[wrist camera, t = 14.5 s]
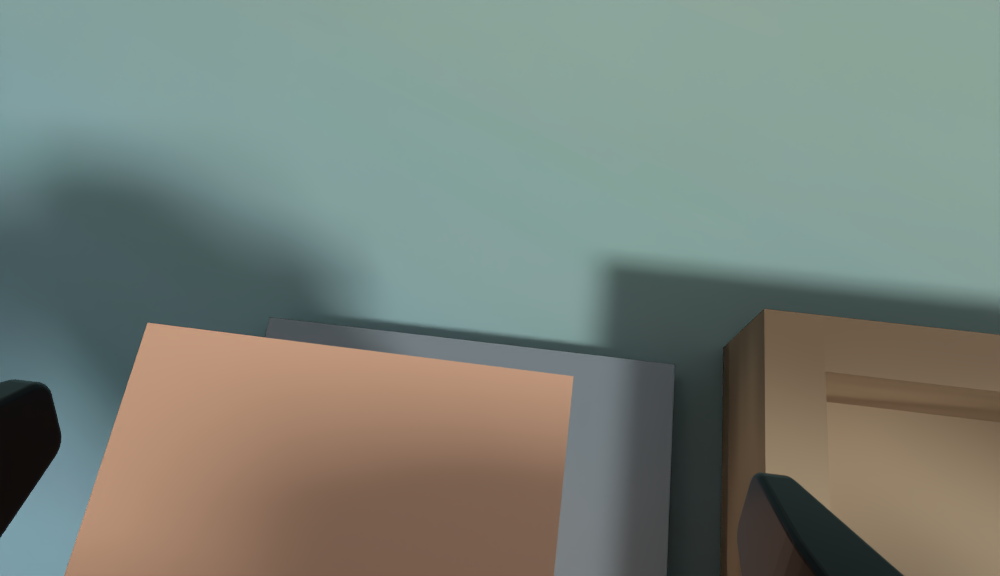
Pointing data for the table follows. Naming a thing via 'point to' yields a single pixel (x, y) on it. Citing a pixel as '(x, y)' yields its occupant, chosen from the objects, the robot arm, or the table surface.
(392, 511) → the block
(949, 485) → the tray
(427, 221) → the table surface
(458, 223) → the table surface
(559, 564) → the mat
